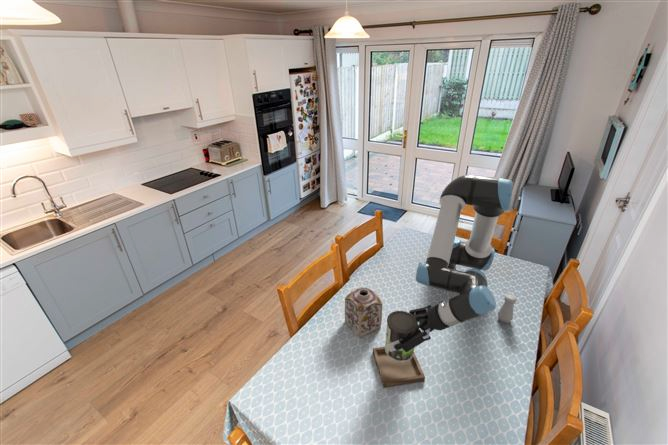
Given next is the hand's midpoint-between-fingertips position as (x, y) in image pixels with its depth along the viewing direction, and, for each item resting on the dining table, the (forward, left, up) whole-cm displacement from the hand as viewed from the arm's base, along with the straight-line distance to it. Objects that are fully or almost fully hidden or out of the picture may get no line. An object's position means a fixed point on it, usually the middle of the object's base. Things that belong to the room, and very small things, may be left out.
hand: (391, 336), depth 110 cm
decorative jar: (-21, -5, -15) cm, 26 cm away
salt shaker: (-13, +56, -15) cm, 59 cm away
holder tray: (+1, +3, -14) cm, 15 cm away
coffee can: (+1, +3, -6) cm, 6 cm away
